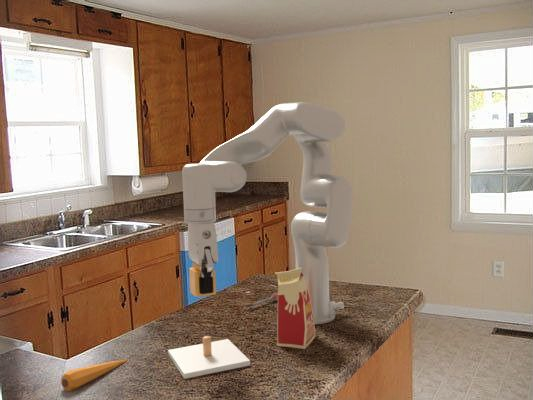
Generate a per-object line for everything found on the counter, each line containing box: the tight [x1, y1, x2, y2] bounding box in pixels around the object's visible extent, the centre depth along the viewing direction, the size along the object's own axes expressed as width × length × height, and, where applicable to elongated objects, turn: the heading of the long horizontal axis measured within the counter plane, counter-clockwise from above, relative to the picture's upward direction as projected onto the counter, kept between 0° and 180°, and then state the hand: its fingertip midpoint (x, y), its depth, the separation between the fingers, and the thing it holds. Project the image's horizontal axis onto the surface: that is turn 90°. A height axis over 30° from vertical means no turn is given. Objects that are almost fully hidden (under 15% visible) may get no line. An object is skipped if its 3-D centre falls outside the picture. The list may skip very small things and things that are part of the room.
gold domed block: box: [188, 261, 217, 298], centre depth 136 cm, size 5×5×8 cm
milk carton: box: [274, 267, 316, 350], centre depth 147 cm, size 9×9×20 cm
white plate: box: [167, 335, 251, 380], centre depth 138 cm, size 16×16×6 cm
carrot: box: [60, 358, 130, 392], centre depth 132 cm, size 20×4×4 cm, turn 150°
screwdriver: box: [244, 292, 278, 308], centre depth 184 cm, size 25×3×3 cm, turn 135°
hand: (203, 289), depth 136 cm, fingers closed on gold domed block, 4 cm apart
